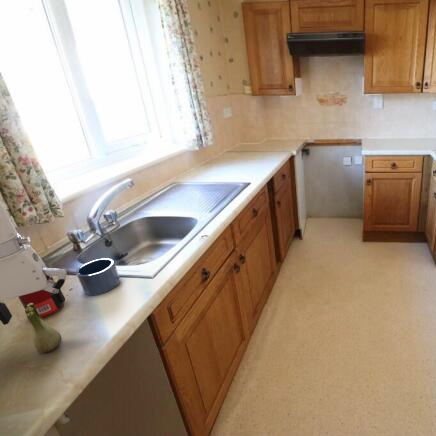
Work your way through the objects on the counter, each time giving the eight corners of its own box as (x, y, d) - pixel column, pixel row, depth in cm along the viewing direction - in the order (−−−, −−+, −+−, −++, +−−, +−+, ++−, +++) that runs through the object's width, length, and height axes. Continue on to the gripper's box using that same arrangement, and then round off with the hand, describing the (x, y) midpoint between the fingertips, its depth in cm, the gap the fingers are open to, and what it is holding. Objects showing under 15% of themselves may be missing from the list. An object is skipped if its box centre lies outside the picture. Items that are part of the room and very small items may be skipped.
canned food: (71, 301, 94) (56, 270, 89) (45, 320, 87) (27, 287, 82) (49, 299, 95) (33, 268, 91) (22, 318, 88) (3, 285, 84)
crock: (82, 299, 95) (73, 279, 92) (86, 282, 102) (78, 264, 99) (119, 288, 99) (112, 269, 96) (121, 273, 106) (114, 255, 103)
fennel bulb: (46, 340, 80) (25, 302, 75) (68, 336, 81) (49, 298, 76) (33, 358, 75) (9, 318, 70) (57, 353, 76) (35, 314, 71)
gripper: (53, 230, 73) (82, 291, 80) (-50, 252, 66) (-8, 317, 73) (46, 243, 67) (77, 308, 74) (-69, 270, 60) (-21, 338, 67)
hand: (35, 312), depth 74 cm, fingers open, 9 cm apart
